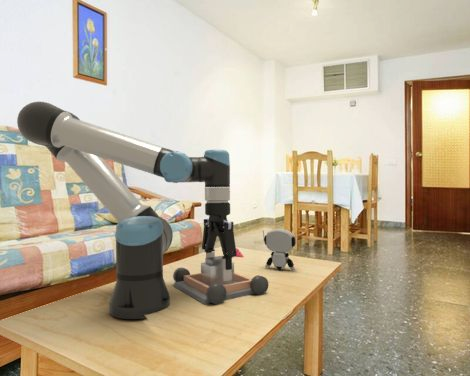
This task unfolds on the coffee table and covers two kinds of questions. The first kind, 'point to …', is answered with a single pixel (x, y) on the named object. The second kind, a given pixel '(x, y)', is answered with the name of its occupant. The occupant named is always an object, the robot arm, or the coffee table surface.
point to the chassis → (218, 287)
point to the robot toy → (280, 248)
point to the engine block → (214, 271)
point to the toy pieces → (238, 253)
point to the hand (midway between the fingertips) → (218, 276)
